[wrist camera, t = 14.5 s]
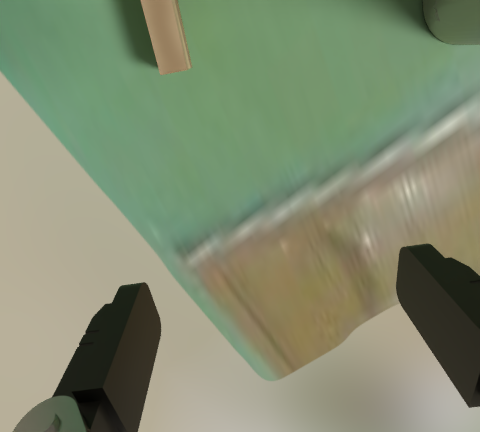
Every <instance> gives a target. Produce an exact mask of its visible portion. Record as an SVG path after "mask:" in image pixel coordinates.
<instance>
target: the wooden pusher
mask: <svg viewBox="0 0 480 432" xmlns="http://www.w3.org/2000/svg"><path fill="white" fill-rule="evenodd" d="M141 4H142V8H143V11H144V15H145V19H146V23H147V26H148V30H149V34H150V38H151V41H152V45H153V49H154V53H155V57H156V60H157V64H158V68H159V72H160V75H163V74H169V73H174V72H179V71H184V70H188V69H190V68H192V64H191V59H190V55H189V50H188V46H187V41H186V37H185V32H184V28H183V23H182V19H181V14H180V9H179V5H178V0H141Z"/></svg>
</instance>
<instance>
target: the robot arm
mask: <svg viewBox="0 0 480 432" xmlns="http://www.w3.org/2000/svg"><path fill="white" fill-rule="evenodd" d="M423 12H424V17H425V21H426V23H427V25H428V27H429V29H430V31H431V32H432V33H433V34H434V35H435V37H437V38H438V39H440V40H441V41H443V42H445V43H449V44H452V45H480V0H423ZM396 291H397V296H398V299H399V302H400V304H401V306H402V307H403V309H404V310H405V312H406V313H407V315H408V316H409V318H410V319H411V321H412V322H413V324H414V325H415V327H416V328H417V330H418V331H419V333H420V334H421V336H422V337H423V339H424V340H425V342H426V343H427V345H428V346H429V348H430V350H431V351H432V353H433V354H434V356H435V357H436V359H437V360H438V362H439V363H440V364H441V366H442V368H443V369H444V371H445V372H446V374H447V375H448V377H449V378H450V380H451V381H452V383H453V384H454V386H455V387H456V389H457V390H458V392H459V393H460V395H461V396H462V398H463V399H464V401H465V402H466V404H467V405H468V407H469V408H470V407H478V406H480V276H479V275H478V274H477V273H476V272H475V271H474V270H472V269H471V268H470V267H469V266H467V265H465V264H463V263H461V262H459V261H457V260H455V259H453V258H444V257H443V256H442V255H441V254H440V253H439V252H438V251H437V250H436V249H435V248H434V247H433V246H432V245H431V244H421V245H414V246H407V247H402V248H401V249H400V253H399V262H398V272H397V282H396ZM160 336H161V322H160V317H159V314H158V312H157V309H156V306H155V303H154V301H153V298H152V295H151V292H150V290H149V287H148V285H147V284H146V283H137V284H130V285H122V286H120V287H119V289H118V291H117V293H116V295H115V298H114V300H113V302H112V303H110V304H105V305H104V306H103V307H102V308H101V309H100V310H99V311H98V312H97V314H95V316H94V317H93V318H92V320H91V322H90V324H89V326H88V328H87V330H86V334H85V335H84V336H83V337H82V339H81V341H80V343H79V347H77V349H76V351H75V353H74V355H73V357H72V359H71V361H70V363H69V365H68V367H67V369H66V371H65V373H64V375H63V377H62V379H61V381H60V383H59V385H58V387H57V389H56V391H55V393H54V395H53V396H52V398H49V399H47V400H45V401H43V402H41V403H40V404H38V405H37V406H35V407H34V408H33V409H32V410H30V411H29V412H28V413H27V414H26V415H25V416H24V417H23V418H22V419H21V421H20V422H19V423H18V424H17V426H16V427H15V429H14V431H13V432H138V428H139V424H140V420H141V416H142V412H143V407H144V403H145V399H146V395H147V391H148V387H149V382H150V378H151V374H152V370H153V366H154V362H155V358H156V353H157V349H158V345H159V340H160Z"/></svg>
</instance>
